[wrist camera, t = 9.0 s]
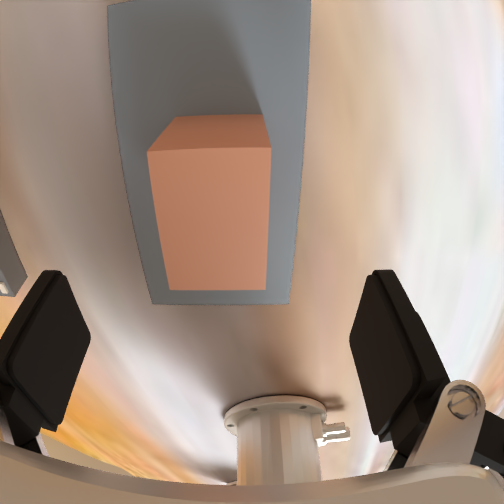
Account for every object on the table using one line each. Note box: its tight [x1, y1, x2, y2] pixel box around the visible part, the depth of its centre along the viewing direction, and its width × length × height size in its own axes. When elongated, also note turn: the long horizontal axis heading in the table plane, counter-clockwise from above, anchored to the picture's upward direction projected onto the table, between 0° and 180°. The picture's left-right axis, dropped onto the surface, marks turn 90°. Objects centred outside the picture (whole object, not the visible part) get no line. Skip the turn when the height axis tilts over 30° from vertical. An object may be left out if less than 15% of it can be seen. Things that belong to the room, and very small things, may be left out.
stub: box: [107, 0, 311, 305], centre depth 15 cm, size 9×18×7 cm, turn 0°
